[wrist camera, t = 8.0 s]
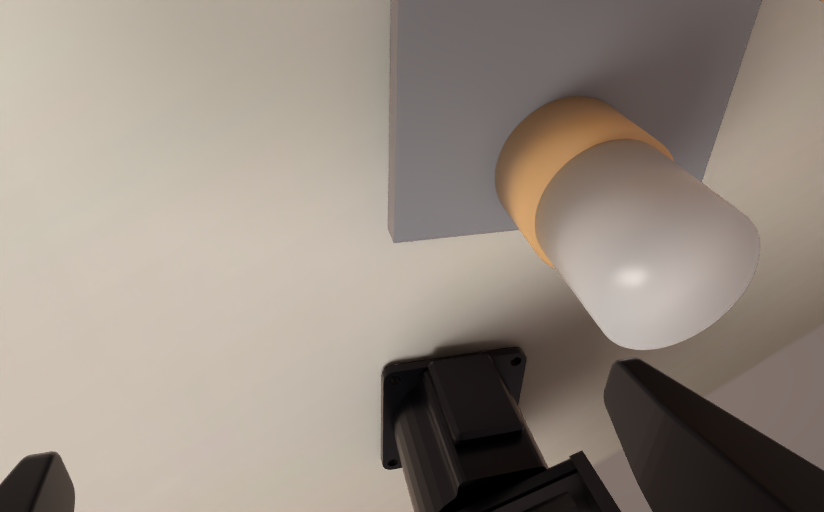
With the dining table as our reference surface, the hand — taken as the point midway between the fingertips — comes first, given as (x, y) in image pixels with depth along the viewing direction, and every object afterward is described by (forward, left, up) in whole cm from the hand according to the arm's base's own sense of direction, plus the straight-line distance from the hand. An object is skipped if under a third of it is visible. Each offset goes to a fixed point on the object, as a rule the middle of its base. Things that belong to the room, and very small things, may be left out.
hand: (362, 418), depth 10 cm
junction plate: (+4, -9, -12) cm, 16 cm away
